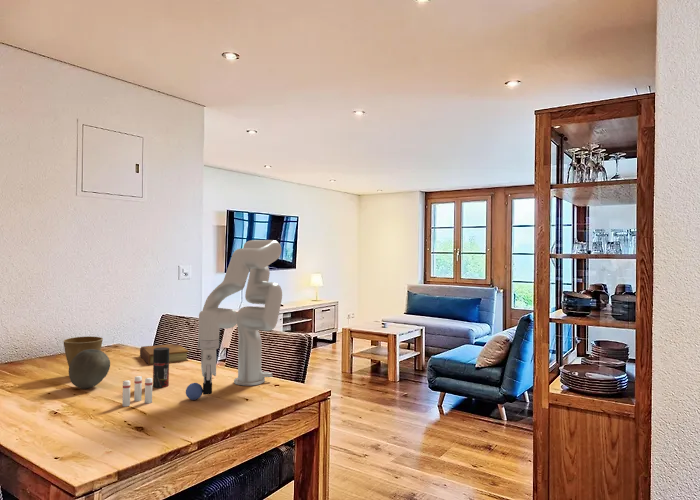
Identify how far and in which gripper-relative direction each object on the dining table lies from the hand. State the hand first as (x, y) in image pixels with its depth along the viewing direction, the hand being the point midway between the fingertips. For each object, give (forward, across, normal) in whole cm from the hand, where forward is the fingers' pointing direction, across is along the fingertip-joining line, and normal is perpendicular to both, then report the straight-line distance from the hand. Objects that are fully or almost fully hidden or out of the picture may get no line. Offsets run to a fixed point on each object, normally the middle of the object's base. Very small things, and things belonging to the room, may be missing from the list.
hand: (207, 393), depth 179 cm
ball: (-1, +1, +5) cm, 5 cm away
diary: (+2, +77, +19) cm, 80 cm away
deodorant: (+2, +23, +17) cm, 29 cm away
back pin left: (+2, 0, +27) cm, 27 cm away
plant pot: (+2, +49, +50) cm, 70 cm away
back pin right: (+2, +5, +24) cm, 25 cm away
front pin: (+2, +1, +20) cm, 20 cm away
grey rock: (+2, +28, +44) cm, 53 cm away
